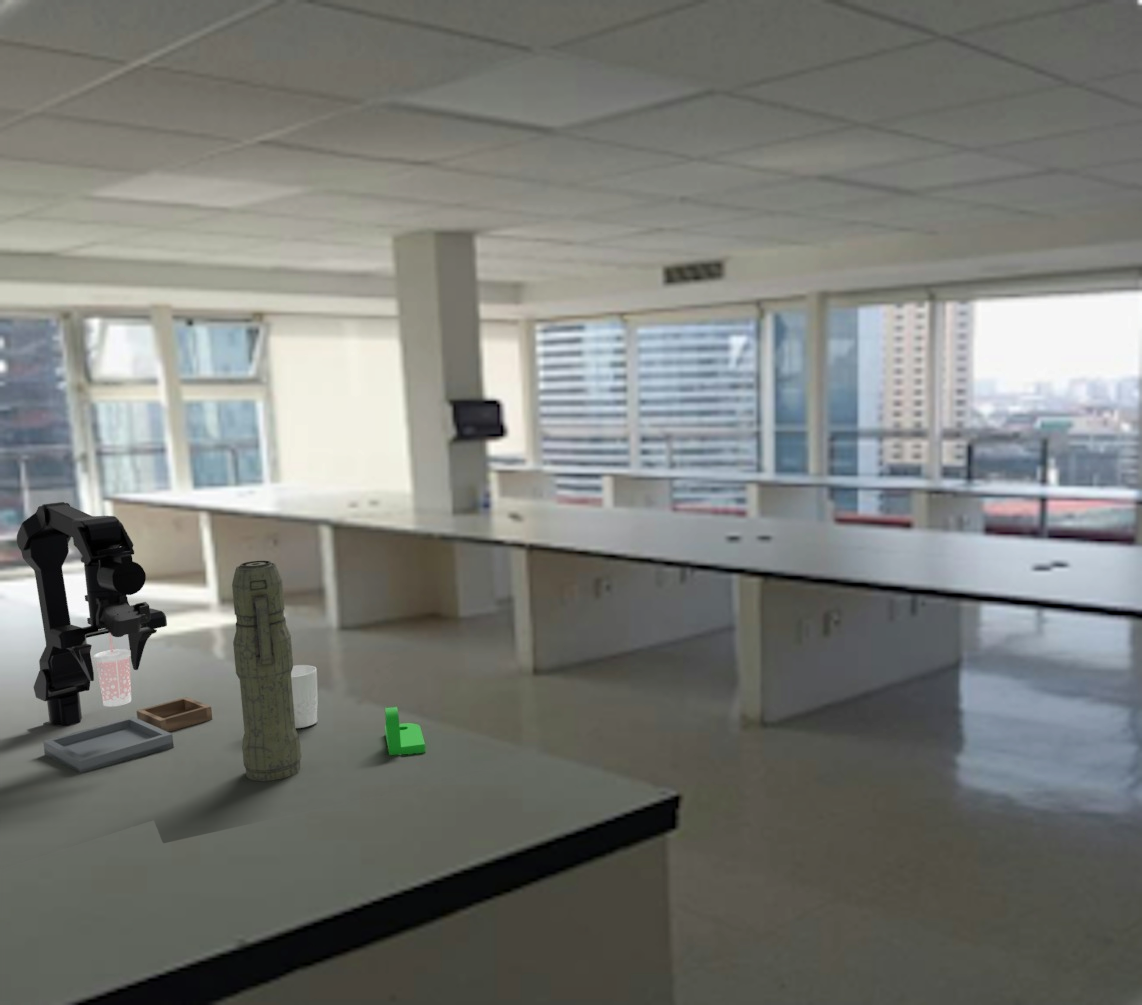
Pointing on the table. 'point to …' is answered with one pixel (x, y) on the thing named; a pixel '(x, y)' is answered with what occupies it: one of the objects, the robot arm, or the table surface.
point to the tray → (107, 744)
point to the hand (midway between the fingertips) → (114, 675)
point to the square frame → (191, 708)
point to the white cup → (304, 695)
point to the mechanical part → (402, 735)
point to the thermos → (264, 673)
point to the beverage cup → (114, 675)
